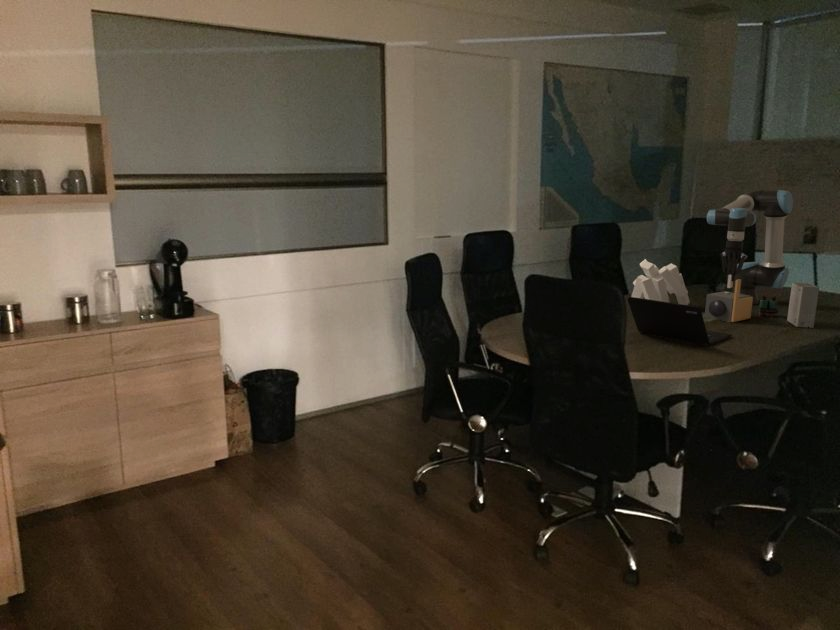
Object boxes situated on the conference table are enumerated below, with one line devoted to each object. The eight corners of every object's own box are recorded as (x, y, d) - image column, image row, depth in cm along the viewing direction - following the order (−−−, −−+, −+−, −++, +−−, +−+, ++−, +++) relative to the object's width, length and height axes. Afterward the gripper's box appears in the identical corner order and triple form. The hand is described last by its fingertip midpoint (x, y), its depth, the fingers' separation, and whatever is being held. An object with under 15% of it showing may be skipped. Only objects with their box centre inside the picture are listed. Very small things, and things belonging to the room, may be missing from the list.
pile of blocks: (654, 310, 384) (629, 256, 379) (705, 297, 363) (679, 239, 358) (633, 337, 360) (606, 280, 354) (686, 325, 339) (658, 264, 334)
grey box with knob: (721, 313, 351) (724, 290, 348) (747, 318, 339) (750, 294, 337) (702, 317, 340) (704, 293, 338) (728, 323, 329) (730, 297, 326)
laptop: (732, 338, 300) (737, 296, 296) (695, 353, 275) (700, 307, 271) (662, 325, 324) (666, 286, 320) (622, 338, 298) (626, 295, 294)
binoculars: (762, 299, 339) (759, 294, 348) (760, 319, 342) (756, 313, 351) (782, 300, 336) (778, 295, 346) (779, 320, 340) (775, 314, 349)
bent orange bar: (748, 317, 339) (753, 277, 334) (750, 318, 338) (755, 277, 334) (731, 321, 330) (735, 279, 325) (733, 322, 329) (737, 280, 325)
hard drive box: (814, 328, 320) (819, 287, 316) (796, 327, 322) (802, 286, 317) (802, 321, 335) (808, 282, 331) (786, 320, 336) (791, 281, 332)
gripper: (718, 239, 328) (713, 286, 333) (745, 241, 318) (739, 290, 323) (725, 238, 332) (720, 285, 337) (752, 240, 323) (746, 288, 328)
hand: (729, 287), depth 330 cm, fingers closed
